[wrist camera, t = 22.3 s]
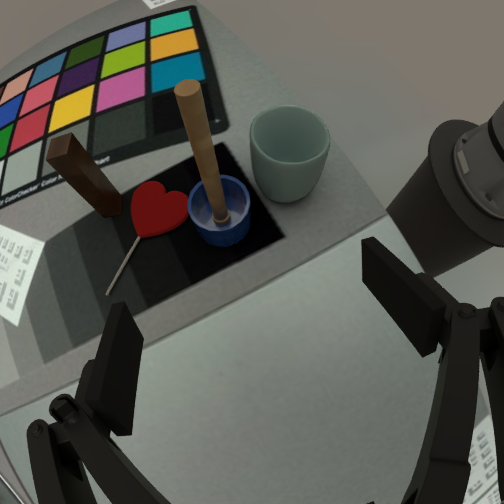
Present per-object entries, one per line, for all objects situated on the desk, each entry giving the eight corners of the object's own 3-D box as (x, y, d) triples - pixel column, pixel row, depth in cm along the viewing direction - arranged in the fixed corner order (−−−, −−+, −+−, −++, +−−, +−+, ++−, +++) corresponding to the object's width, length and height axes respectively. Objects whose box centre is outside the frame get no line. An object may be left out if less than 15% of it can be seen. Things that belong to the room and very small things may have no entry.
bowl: (247, 193, 38) (246, 171, 33) (254, 243, 36) (253, 227, 31) (195, 199, 37) (186, 179, 33) (198, 250, 35) (188, 235, 31)
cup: (264, 220, 36) (265, 175, 27) (243, 166, 39) (238, 113, 29) (325, 201, 37) (344, 154, 27) (300, 151, 39) (310, 97, 30)
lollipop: (134, 312, 33) (198, 201, 37) (131, 311, 32) (197, 198, 36) (85, 279, 35) (146, 178, 38) (81, 277, 34) (144, 175, 38)
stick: (230, 209, 36) (203, 74, 17) (231, 225, 35) (203, 95, 16) (212, 211, 36) (171, 80, 17) (213, 227, 35) (170, 101, 16)
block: (122, 196, 38) (72, 132, 25) (121, 214, 37) (66, 153, 24) (105, 199, 38) (51, 138, 25) (103, 217, 37) (45, 160, 24)
